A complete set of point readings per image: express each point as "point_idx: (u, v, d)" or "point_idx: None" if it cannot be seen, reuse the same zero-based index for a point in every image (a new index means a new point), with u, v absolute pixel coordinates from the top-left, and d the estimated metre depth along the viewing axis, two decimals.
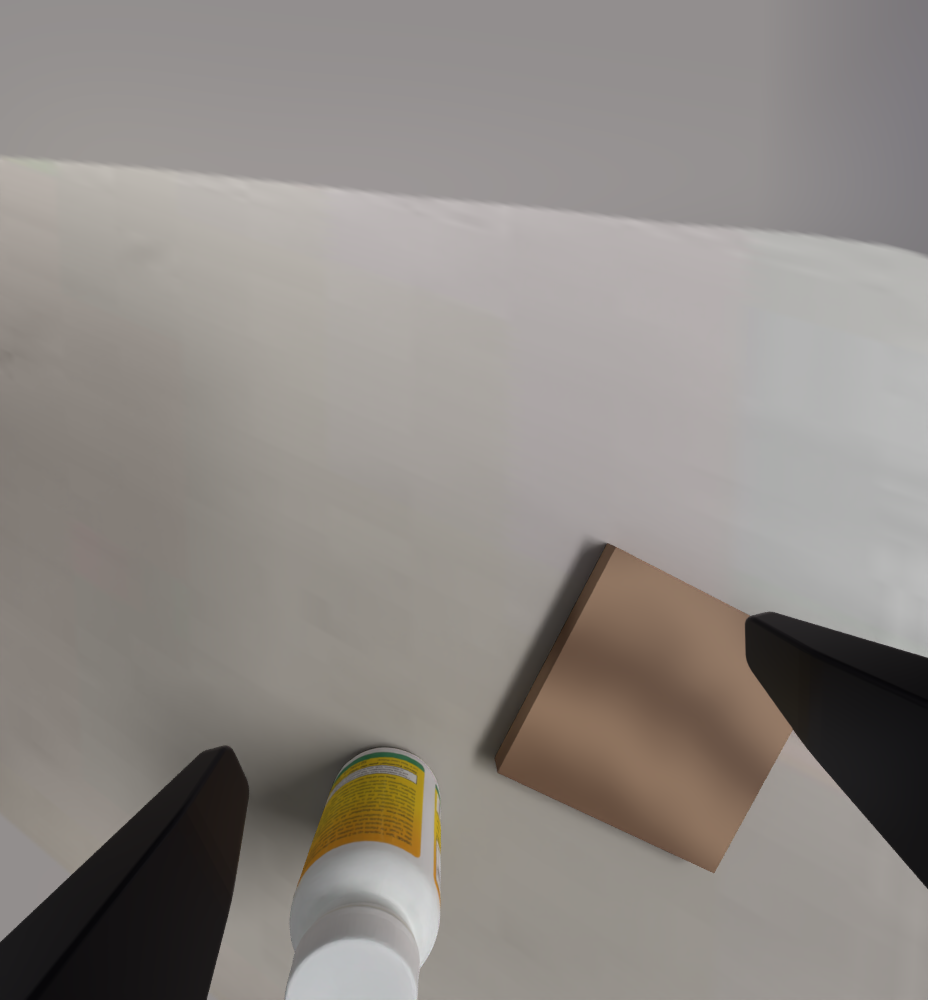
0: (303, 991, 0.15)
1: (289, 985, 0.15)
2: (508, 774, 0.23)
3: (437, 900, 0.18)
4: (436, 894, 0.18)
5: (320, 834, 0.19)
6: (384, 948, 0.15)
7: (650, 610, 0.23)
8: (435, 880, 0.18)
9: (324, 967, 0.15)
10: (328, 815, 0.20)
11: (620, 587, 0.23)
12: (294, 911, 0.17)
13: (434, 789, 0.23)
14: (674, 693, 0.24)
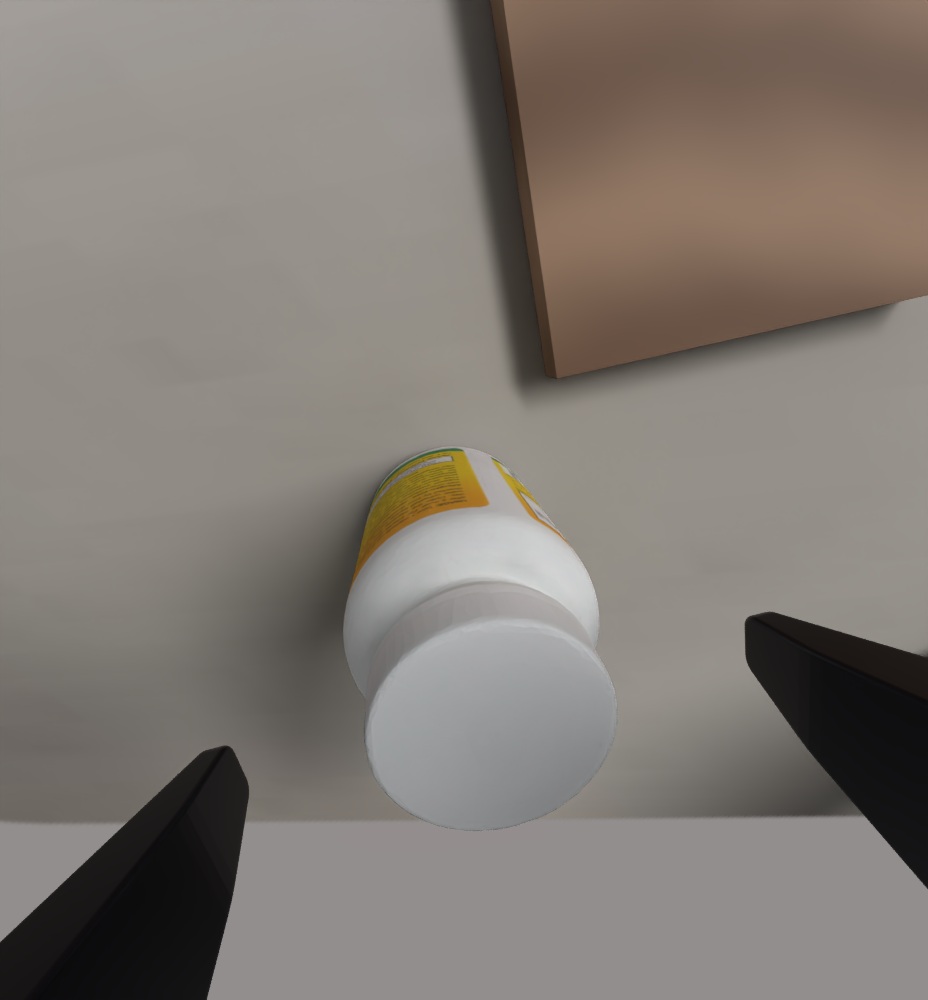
0: (407, 770, 0.08)
1: (377, 778, 0.08)
2: (573, 370, 0.14)
3: (556, 537, 0.10)
4: (549, 531, 0.10)
5: None
6: (480, 625, 0.07)
7: None
8: (537, 519, 0.10)
9: (408, 719, 0.07)
10: None
11: None
12: (361, 690, 0.10)
13: (490, 459, 0.15)
14: (743, 41, 0.12)
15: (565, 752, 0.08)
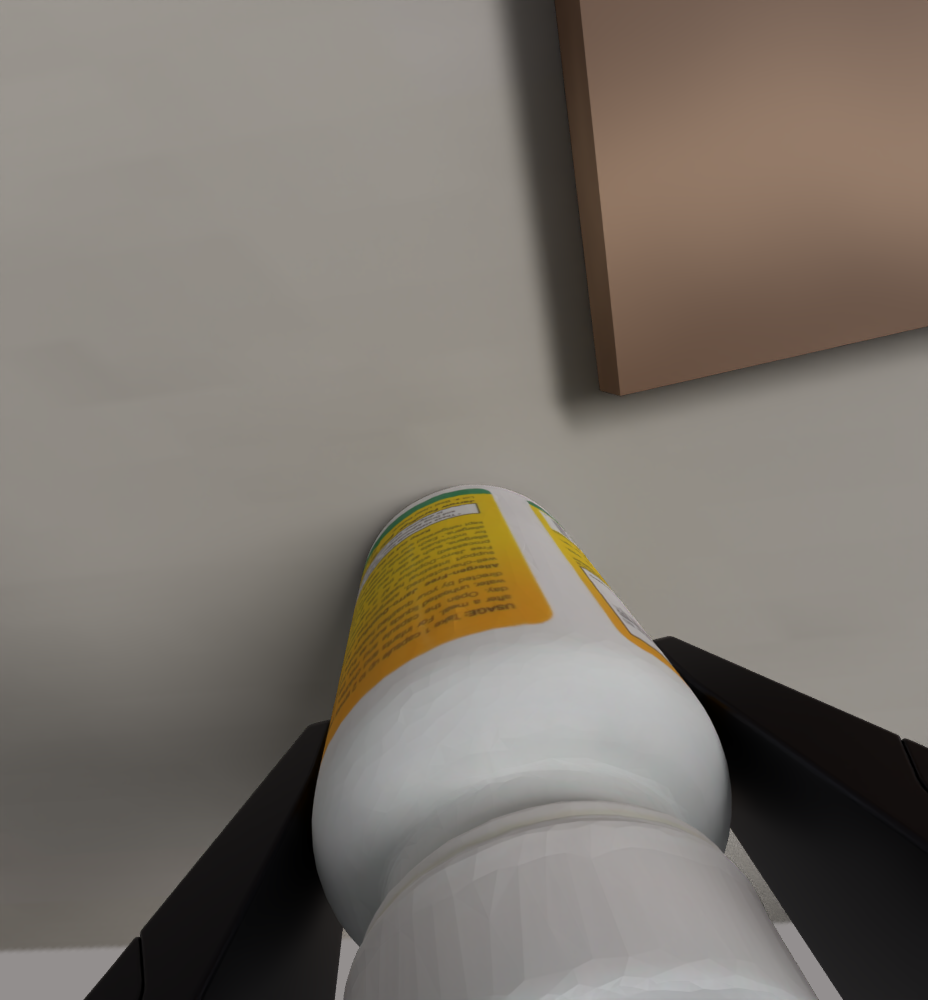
0: None
1: None
2: (643, 384, 0.10)
3: (668, 675, 0.06)
4: (656, 664, 0.06)
5: None
6: (591, 995, 0.03)
7: None
8: (631, 637, 0.06)
9: None
10: None
11: None
12: (341, 924, 0.06)
13: (528, 506, 0.11)
14: None
15: None
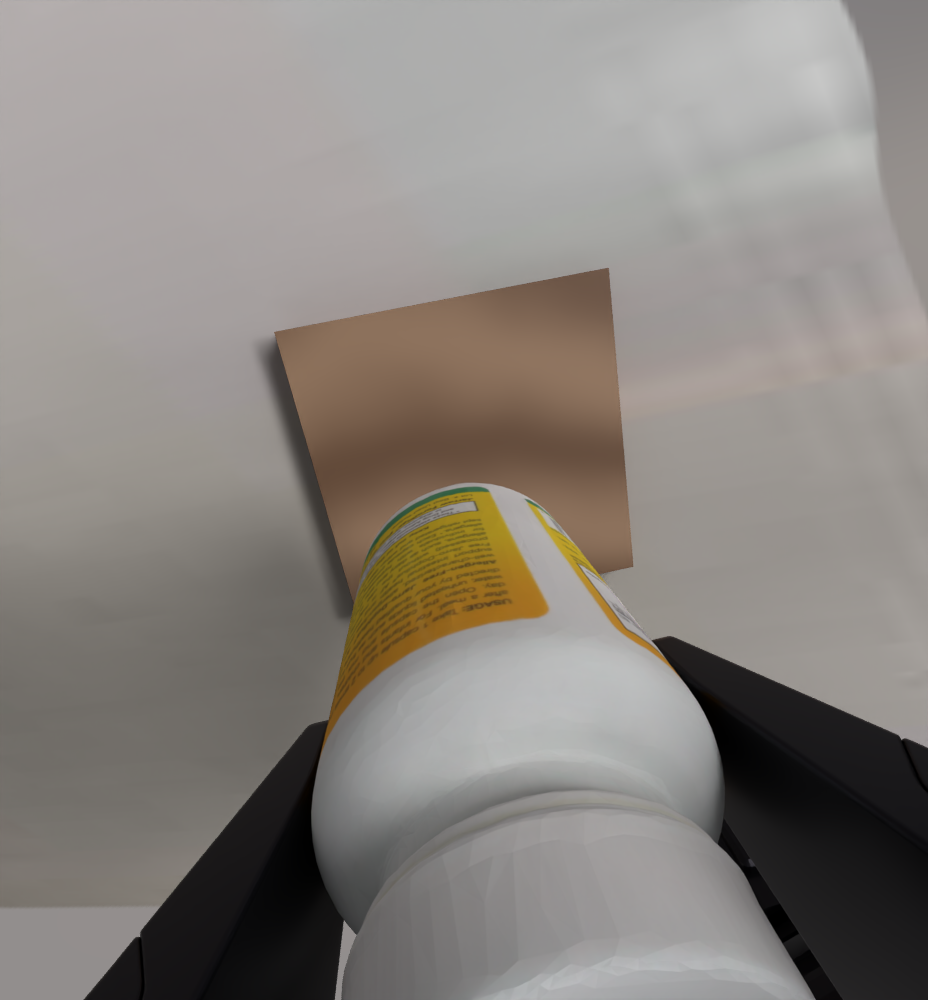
0: None
1: None
2: None
3: (662, 669, 0.06)
4: (650, 658, 0.06)
5: None
6: (583, 975, 0.03)
7: (369, 371, 0.18)
8: (626, 632, 0.06)
9: None
10: None
11: (318, 373, 0.18)
12: (340, 914, 0.06)
13: (526, 504, 0.11)
14: (465, 436, 0.19)
15: None
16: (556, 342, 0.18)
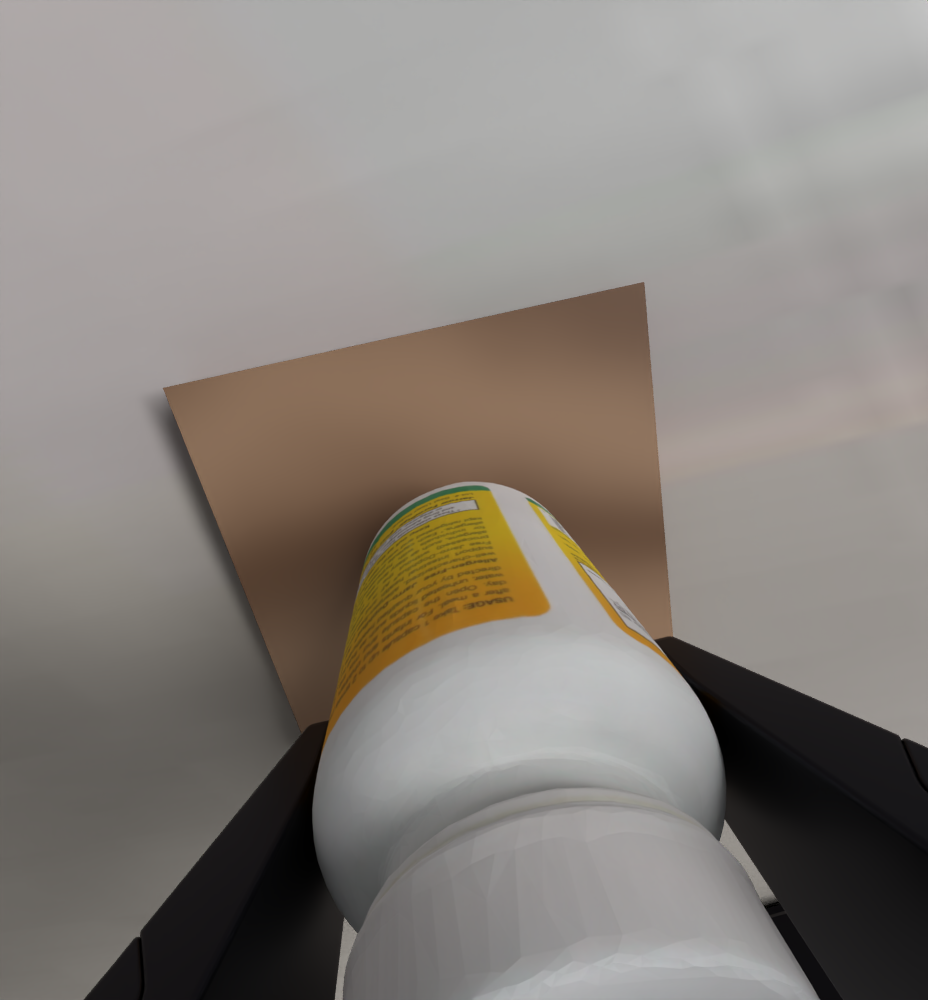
0: None
1: None
2: None
3: (664, 667, 0.06)
4: (652, 656, 0.06)
5: None
6: (586, 970, 0.03)
7: (306, 438, 0.13)
8: (627, 630, 0.06)
9: None
10: None
11: (231, 442, 0.12)
12: None
13: (526, 502, 0.11)
14: None
15: None
16: (570, 388, 0.13)
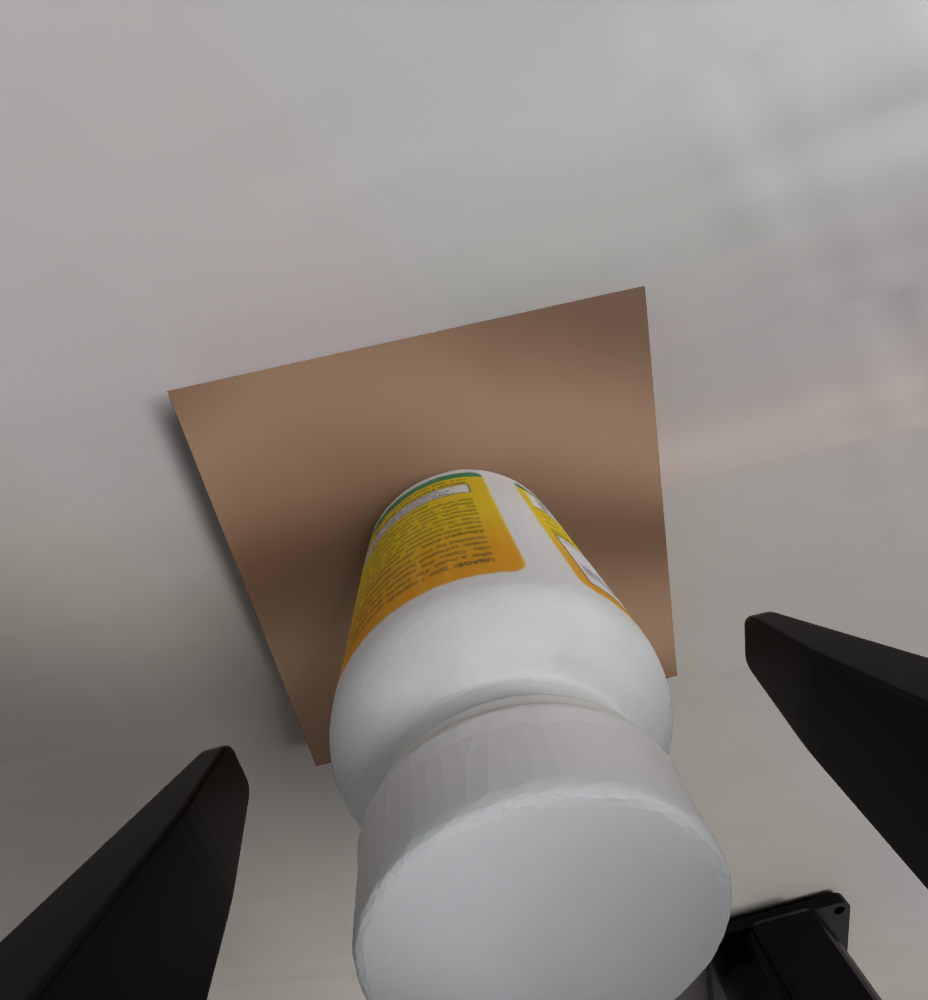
0: (419, 995, 0.05)
1: None
2: None
3: (618, 613, 0.07)
4: (608, 604, 0.07)
5: None
6: (534, 798, 0.04)
7: (309, 440, 0.13)
8: (590, 584, 0.08)
9: (419, 929, 0.05)
10: None
11: (235, 445, 0.13)
12: (353, 816, 0.07)
13: (514, 487, 0.12)
14: None
15: (652, 959, 0.05)
16: (571, 391, 0.13)
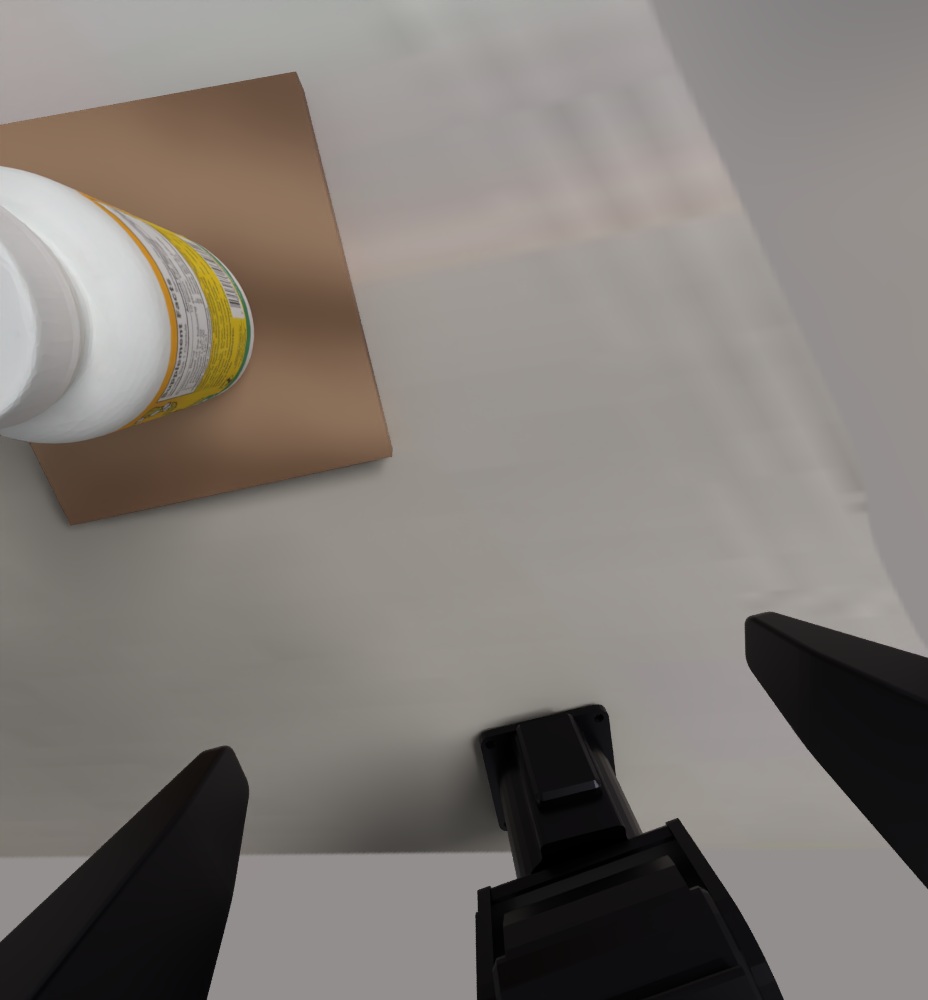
0: None
1: None
2: (84, 519, 0.18)
3: (86, 201, 0.10)
4: (81, 197, 0.10)
5: None
6: None
7: None
8: (84, 195, 0.10)
9: None
10: None
11: None
12: None
13: None
14: None
15: None
16: (247, 169, 0.15)
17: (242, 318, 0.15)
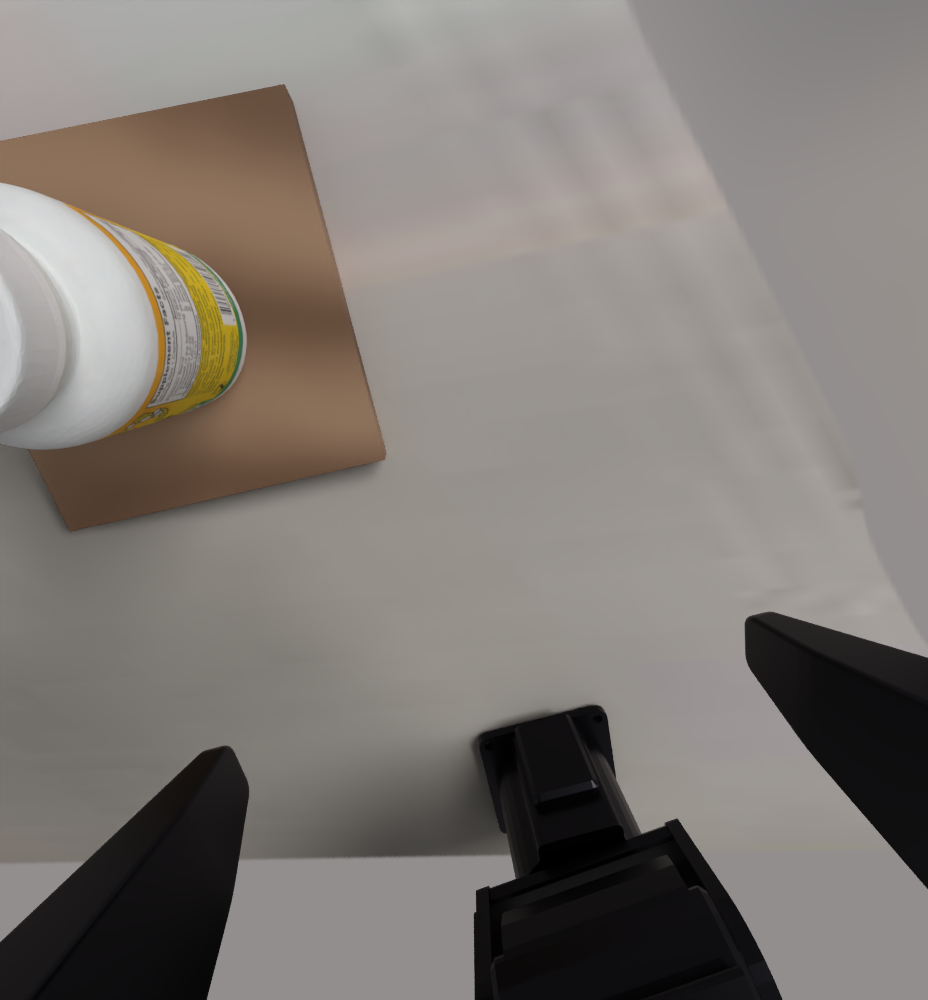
0: None
1: None
2: (82, 525, 0.19)
3: (73, 213, 0.10)
4: (68, 209, 0.10)
5: None
6: None
7: None
8: (72, 207, 0.10)
9: None
10: None
11: None
12: None
13: (170, 244, 0.15)
14: None
15: None
16: (237, 179, 0.16)
17: (234, 325, 0.16)
